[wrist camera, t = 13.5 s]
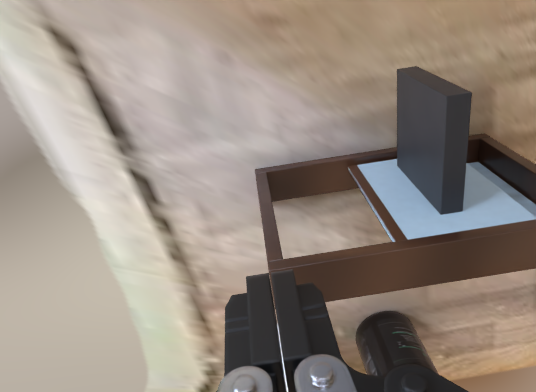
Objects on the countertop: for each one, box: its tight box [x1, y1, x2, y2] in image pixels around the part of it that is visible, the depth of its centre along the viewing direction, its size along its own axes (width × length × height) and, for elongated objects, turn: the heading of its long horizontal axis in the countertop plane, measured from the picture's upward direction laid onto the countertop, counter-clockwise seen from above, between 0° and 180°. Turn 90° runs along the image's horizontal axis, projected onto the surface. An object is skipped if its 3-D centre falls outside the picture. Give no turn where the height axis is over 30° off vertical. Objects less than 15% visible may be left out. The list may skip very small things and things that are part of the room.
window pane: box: [348, 66, 536, 242], centre depth 33 cm, size 10×9×13 cm
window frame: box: [255, 134, 536, 309], centre depth 35 cm, size 22×3×16 cm, turn 98°
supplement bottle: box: [356, 311, 438, 377], centre depth 46 cm, size 7×7×12 cm
